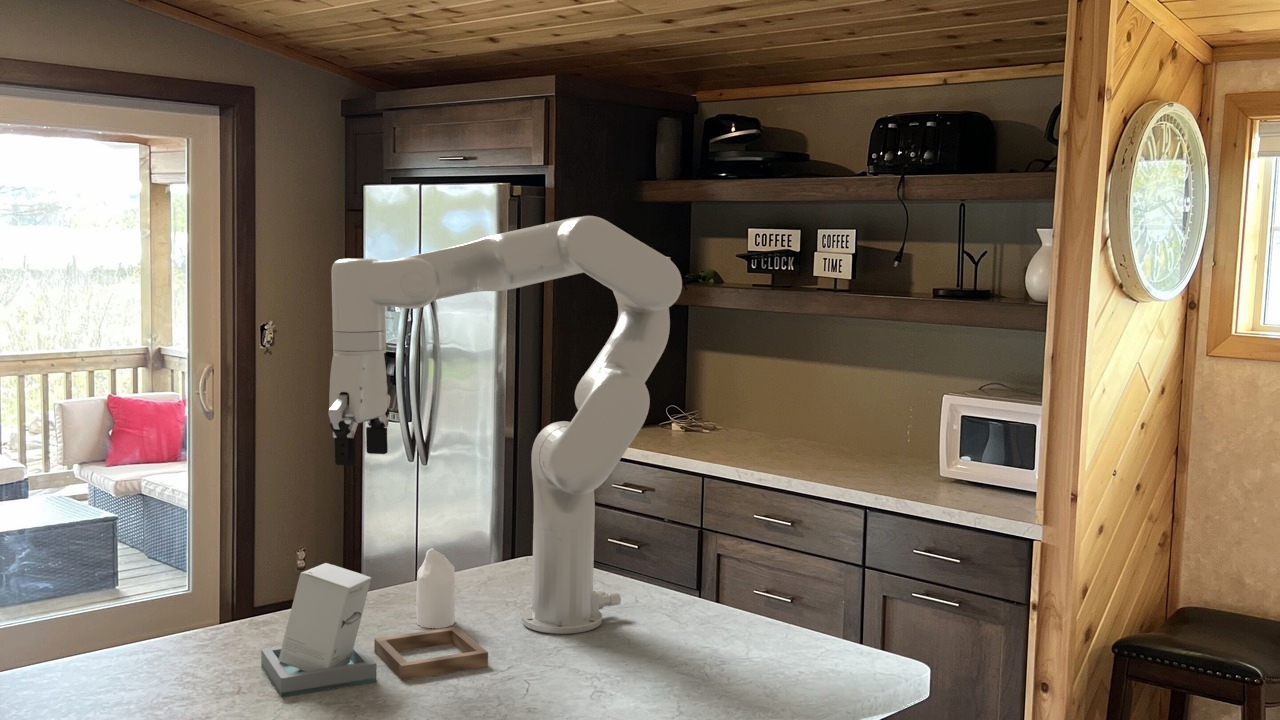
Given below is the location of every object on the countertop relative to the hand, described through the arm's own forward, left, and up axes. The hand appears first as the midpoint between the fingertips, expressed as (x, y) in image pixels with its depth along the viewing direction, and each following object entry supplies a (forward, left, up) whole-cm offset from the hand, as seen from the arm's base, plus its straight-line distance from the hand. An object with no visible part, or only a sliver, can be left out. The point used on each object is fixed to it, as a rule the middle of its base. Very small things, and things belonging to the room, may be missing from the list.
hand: (362, 459), depth 167 cm
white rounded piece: (-12, -1, -27) cm, 30 cm away
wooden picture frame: (-6, +14, -27) cm, 31 cm away
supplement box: (+10, +13, -25) cm, 30 cm away
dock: (+10, +13, -27) cm, 31 cm away
